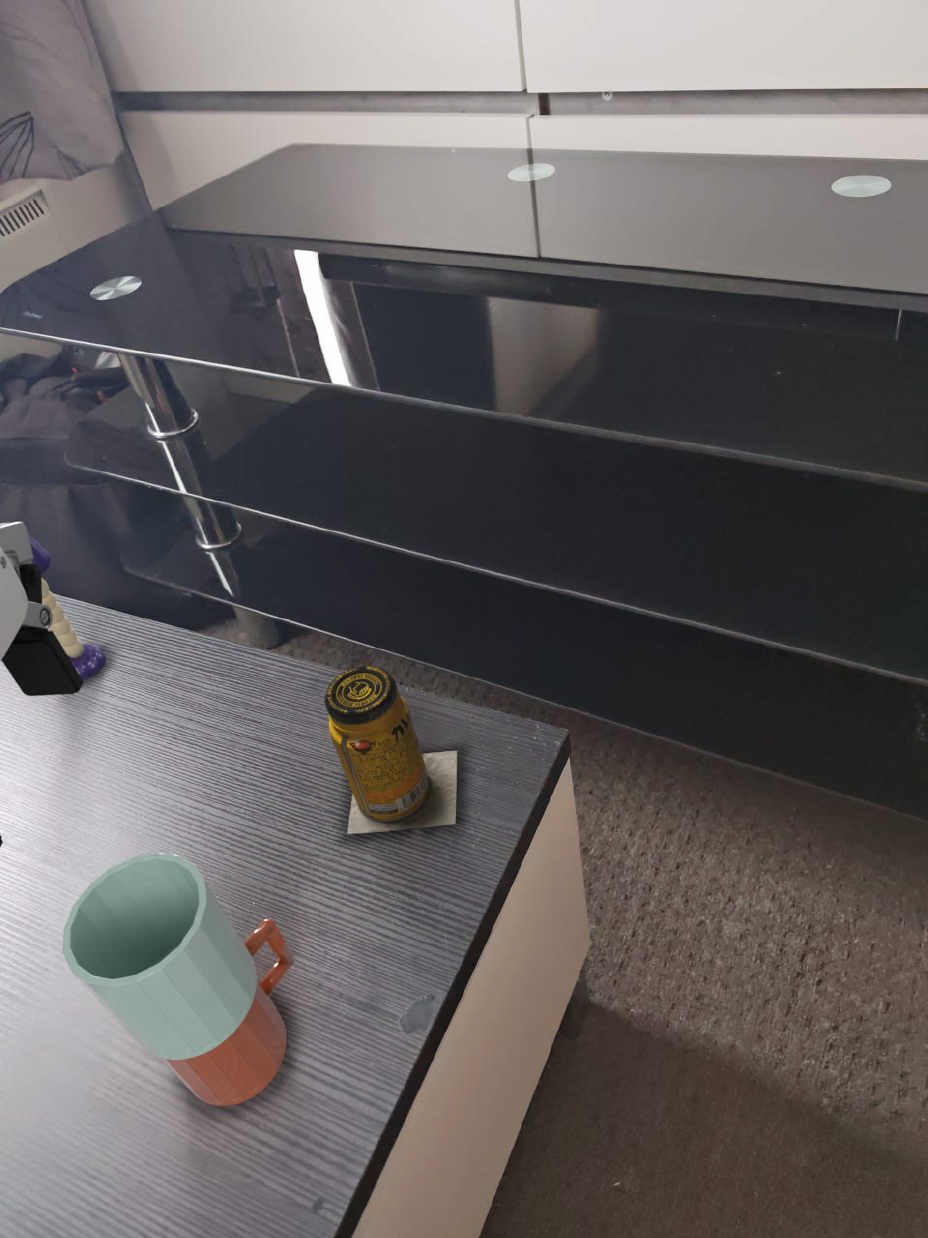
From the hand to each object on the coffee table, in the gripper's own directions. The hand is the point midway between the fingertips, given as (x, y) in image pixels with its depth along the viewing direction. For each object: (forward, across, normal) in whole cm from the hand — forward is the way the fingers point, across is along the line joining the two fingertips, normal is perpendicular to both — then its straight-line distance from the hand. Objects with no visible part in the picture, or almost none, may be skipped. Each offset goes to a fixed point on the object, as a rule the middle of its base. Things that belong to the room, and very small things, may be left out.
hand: (16, 763), depth 45 cm
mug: (+26, +2, +4) cm, 26 cm away
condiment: (+26, -17, +12) cm, 34 cm away
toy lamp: (+27, -34, -22) cm, 48 cm away
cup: (+18, +3, +4) cm, 19 cm away
